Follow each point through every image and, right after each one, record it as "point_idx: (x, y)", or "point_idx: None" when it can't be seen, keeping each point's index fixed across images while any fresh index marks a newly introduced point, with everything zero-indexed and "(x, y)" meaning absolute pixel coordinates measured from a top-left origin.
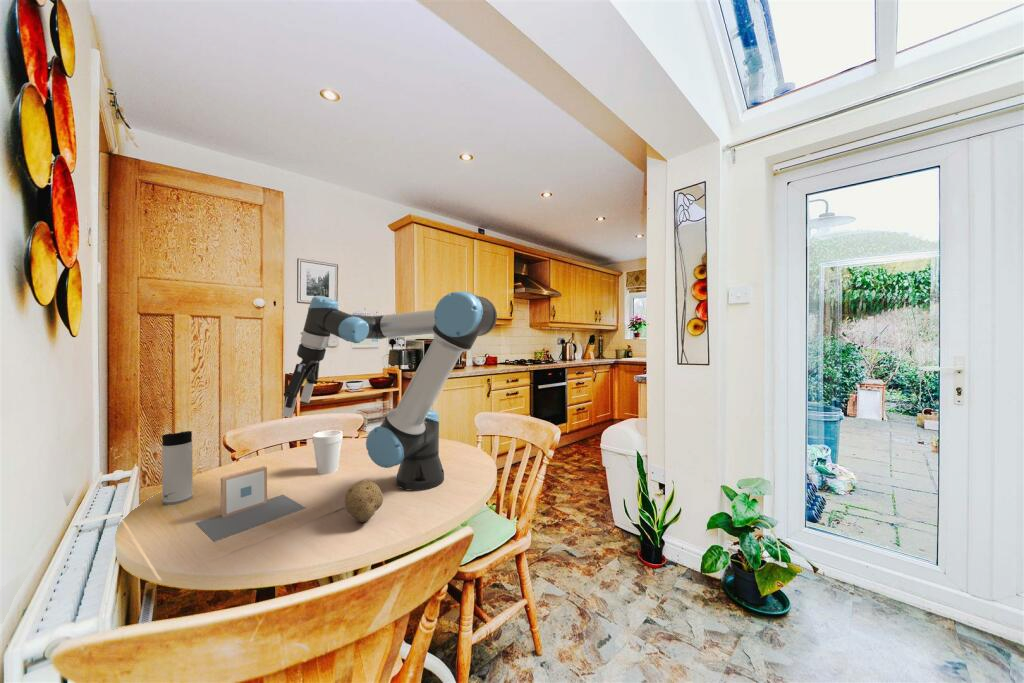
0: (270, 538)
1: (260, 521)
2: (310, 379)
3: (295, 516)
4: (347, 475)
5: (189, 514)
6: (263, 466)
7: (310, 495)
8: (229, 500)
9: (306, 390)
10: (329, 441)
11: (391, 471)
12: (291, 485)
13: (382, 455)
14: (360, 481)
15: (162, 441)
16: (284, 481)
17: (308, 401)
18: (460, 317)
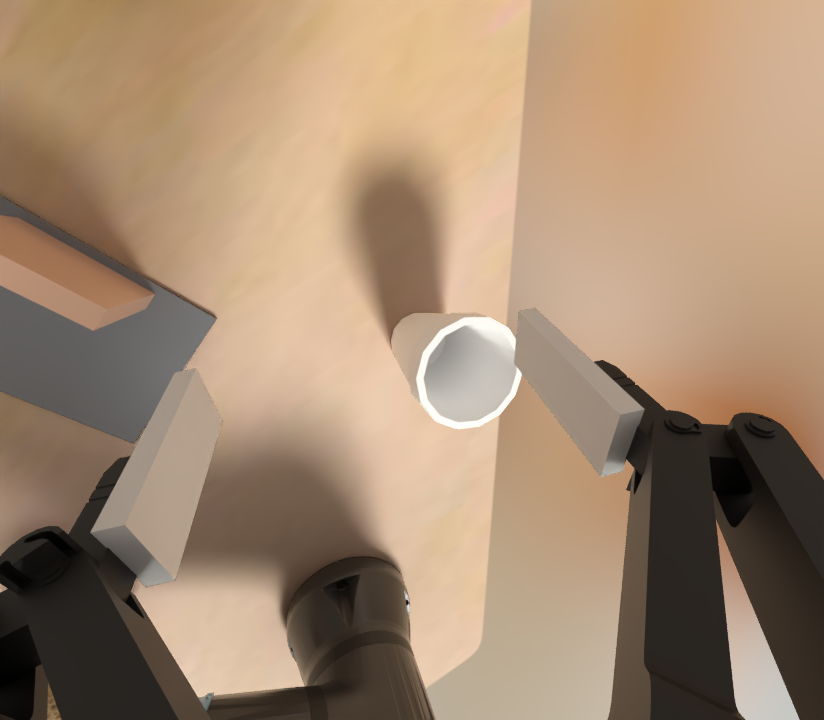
0: None
1: (13, 374)
2: (636, 503)
3: (83, 441)
4: (381, 416)
5: (14, 78)
6: (101, 308)
7: (230, 397)
8: None
9: (565, 391)
10: (418, 401)
11: (410, 512)
12: (299, 294)
13: None
14: (48, 706)
15: None
16: (329, 251)
17: (517, 367)
18: None
